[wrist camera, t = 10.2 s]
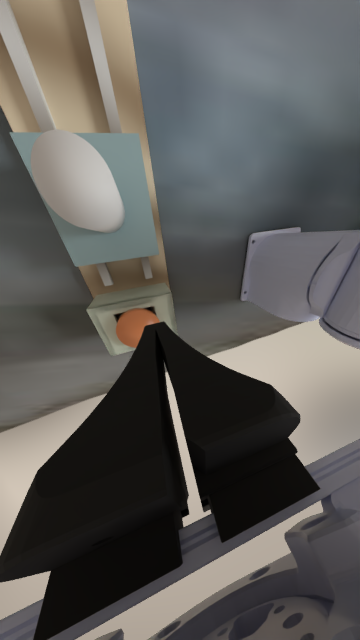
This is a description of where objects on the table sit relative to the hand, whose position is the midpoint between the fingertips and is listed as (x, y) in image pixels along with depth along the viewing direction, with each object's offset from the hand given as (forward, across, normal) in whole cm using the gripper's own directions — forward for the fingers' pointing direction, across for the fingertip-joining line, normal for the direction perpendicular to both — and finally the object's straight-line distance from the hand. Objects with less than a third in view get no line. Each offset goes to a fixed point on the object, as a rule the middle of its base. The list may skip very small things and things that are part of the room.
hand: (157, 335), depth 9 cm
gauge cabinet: (+10, +2, +2) cm, 11 cm away
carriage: (+9, +2, -8) cm, 12 cm away
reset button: (+9, +2, +2) cm, 9 cm away
